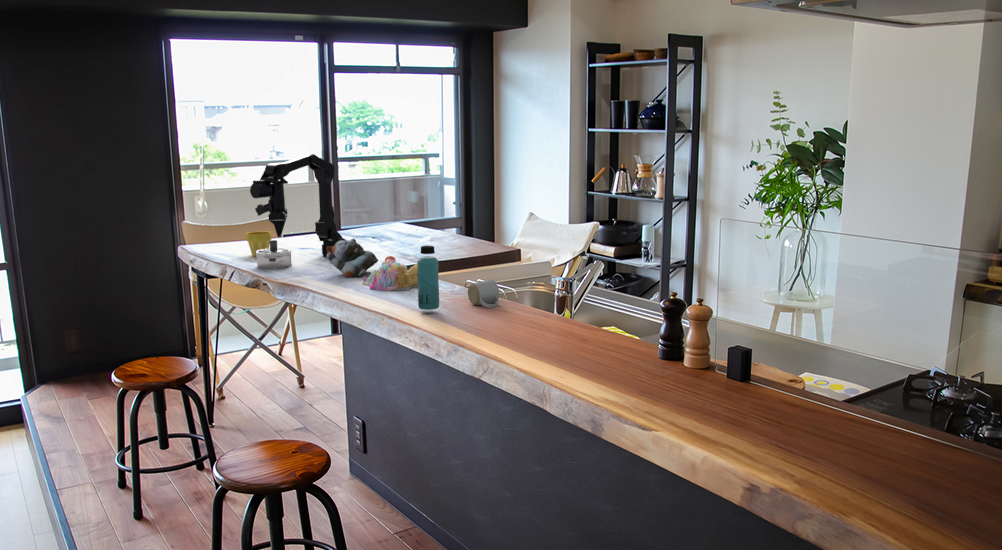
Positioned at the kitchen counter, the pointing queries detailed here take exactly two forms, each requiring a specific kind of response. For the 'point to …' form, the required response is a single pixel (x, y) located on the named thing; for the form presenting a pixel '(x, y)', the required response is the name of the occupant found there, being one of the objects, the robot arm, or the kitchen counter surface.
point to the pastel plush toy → (392, 276)
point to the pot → (273, 259)
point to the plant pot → (258, 241)
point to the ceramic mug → (484, 293)
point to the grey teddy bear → (350, 258)
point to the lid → (273, 248)
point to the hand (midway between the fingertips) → (279, 235)
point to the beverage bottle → (428, 280)
